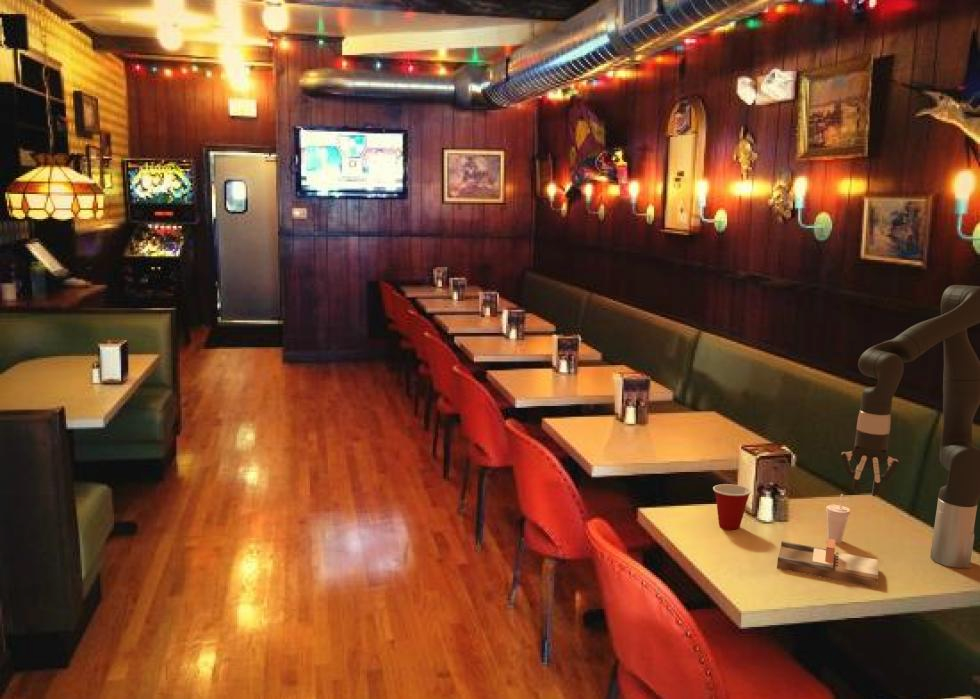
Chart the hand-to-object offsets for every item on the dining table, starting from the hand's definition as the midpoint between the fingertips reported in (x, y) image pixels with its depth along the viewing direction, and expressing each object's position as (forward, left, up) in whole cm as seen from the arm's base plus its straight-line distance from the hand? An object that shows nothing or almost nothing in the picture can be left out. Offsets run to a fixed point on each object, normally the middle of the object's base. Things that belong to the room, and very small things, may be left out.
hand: (865, 493), depth 211 cm
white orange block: (+8, 0, -20) cm, 22 cm away
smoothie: (+6, -21, -22) cm, 31 cm away
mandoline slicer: (+7, 0, -22) cm, 23 cm away
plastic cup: (+34, -17, -22) cm, 44 cm away
